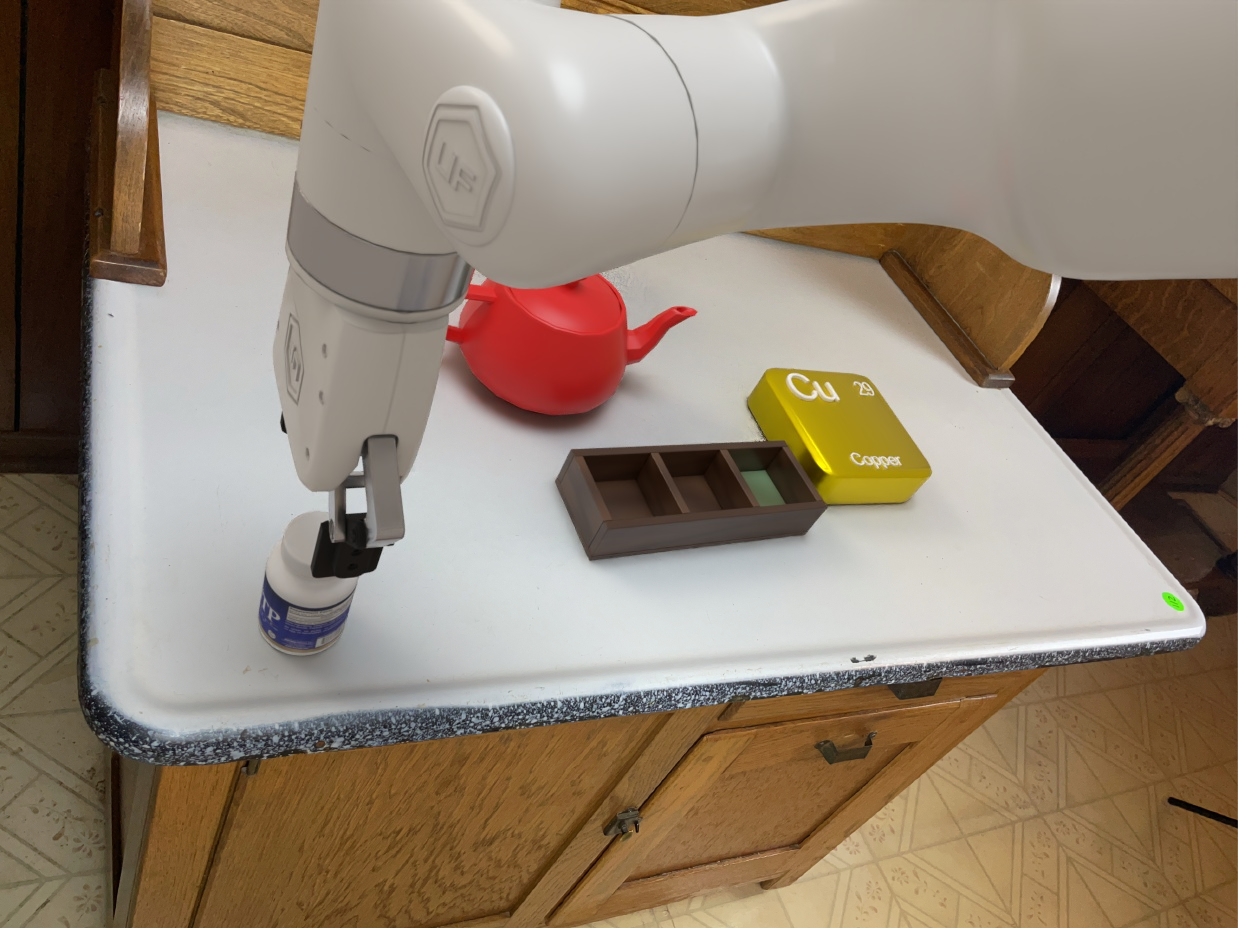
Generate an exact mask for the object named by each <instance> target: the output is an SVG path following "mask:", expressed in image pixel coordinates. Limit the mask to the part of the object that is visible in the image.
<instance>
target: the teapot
mask: <svg viewBox="0 0 1238 928" xmlns="http://www.w3.org/2000/svg"><path fill="white" fill-rule="evenodd" d="M464 300H467V301H466V302H465V304H464V306H463V308H462V310H461V312H460V314H459V321H458V327H457V326H454V325H451V324H448V329H447V334H446V340H445V341H448V342H452V343H455V344H458V347H459V350H460V352H462V356H463V357H464V359H465V361H466V363H467V365H468V367H469V370H470V371H471V373H472V375H474V377H475V378H476V379H477V380H478V381H479V382H480V383H482V384H483V385H484V386H485V387H486V388H487V389H488V390H489V391H490V392H492V393H493V395H495V396H496V397H498V398H500V399H502V400H504V401H506V402H508V403H510V404H512V405H513V406H516V407H518V408H520V409H522V410H526V411H529V412H530V411H531V412H535V413H539V414H544V415H549V416H553V417H555V416H565V415H566V416H567V415H576V414H577V415H579V414H584V413H588V412H589V411H591V410H594V409H595V408H597V407H599V406H601V405H602V404H604V403H606V402H608V400H610V399H611V398H612V397H613V396H614V395H615V394H616V391H617V389H618V388H619V386H620V384H621V381H622V379H623V378H624V375H625V373H626V367H627V366H631V365H634V364H639V363H641V361H643V360H644V359H645V358H646V357H647V356H648V355H649V354H650V353H651V352H652V351H653V350H654V349H655V348H656V347H657V346H658V344H659V343H660V342H661V341H662V340H663V338H664V337H665V335H666V334H667V333H668V331H670V329H672V328H673V327H675V326H677V325H678V324H680V323H682V322H684V321H686V320H687V319H689V318H691V317H695V316H696V315H697V314H698V310H696V309H695V308H693V307H689V306H684V305H677V306H676V305H675V306H672V307H669V308H667V309H666V310H664V311H662V312H659V313H658V314H656V315H655V316H654V317H652V318H651V319H650V320H648V321H647V322H646V323H644V324H642V325H639V326H638V327H636V328H633V329H629V328H628V313H627V306H626V304H625V301H624V299H623V297H622V294H621V293H620V291H619V290H618V289H617V288H616V287H615V285H613V284H612V282H610V280H608V279H606V278H605V277H604V276H603V274H601V273H599V274H595V275H592V276H589V277H586V278H583V279H580V280H577V281H574V282H571V283H568V284H564V285H560V286H555V287H550V288H544V289H518V288H512V287H509V286H505V285H502V284H499V283H497V282H494V281H492V280H490V279H488V278H487V277H486V279H484V281H483V282H482V283H481V284H474V283H473V284H472V283H470V286H469V289H468V292H467V295H466V297H465V299H464Z"/></svg>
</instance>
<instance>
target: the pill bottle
mask: <svg viewBox="0 0 1238 928" xmlns="http://www.w3.org/2000/svg"><path fill="white" fill-rule="evenodd" d="M327 520H329V511H324V510H313V511H307V512H304V513H301V514H299V515H297V516H296V517H294V518H293V519H291V521H290V522H288V524H287V525H286V527H285V528H284V531H283V535H282V538H281V539H280V540H278V541H277V542H276V543H275V545H274V546H273V547H272V549H271V550H270V552H269V553H268V557H267V560H266V562H265V563H266V564H265V569H264V576H263V583H262V589H261V593H260V594H261V597H260V600H259V607H258V613H257V622H258V623H257V624H258V629H259V630H260V633H261V635H262V637H263V639H264V640H265V641H266V642H267V643H268V644H269V645H270V646H271V647H272V648H274V649H276V650H277V651H279V652H282V653H284V654H287V655H292V656H312V655H315V654H318V653H321V652H323V651H325V650H327V649H329V648H330V647H331V646H333V645H334V644H335V643H336V642H337V641H338V640H339V639H340V638H341V636H342V634H343V632H344V630H345V627H346V623H347V621H348V618H349V617H348V616H349V614H350V610H351V607H352V606H351V605H352V602H353V599H354V595H355V592H356V589H357V586H358V582H359V578H360V576H358V577H354V578H346V579H341V578H337V577H336V576H334V577H325V578H314V577H313V576H312V572H311V567H310V566H311V562H312V558H313V553H314V549H315V545H316V541H317V537H318V532H319V528H320V524H321V523H322V522H324V521H327Z"/></svg>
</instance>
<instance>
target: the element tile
mask: <svg viewBox="0 0 1238 928" xmlns="http://www.w3.org/2000/svg"><path fill="white" fill-rule="evenodd" d="M747 405H748V408H749V411H750V412H751V414H752V416H753V418H754V419H755V421H756V422H757V425H758V426H759V428H760V430H761V432H762V433H763V436H764V437H765V439H766V441H779V440H784V441H785V442H786V443H787V445H788V447H789V448H790V449H791V451H792V452H793V454H794V456H795V457H796V459H797V460H798V462H799V463H800V465H801V466H802V468H803V469H804V471H805V472H806V474H807V476H808V477H809V479H810V480H811V482H812V483H813V485H814V486H815V488H816V489H817V491H818V493H819V494H820V496H821V497H822V499H823V501H824V502H825V503H826V505H856V504H857V505H860V504H900V503H905V502H907V501H909V500H910V499H911V498H912V497H913V496H914V495H915V494H916V493H917V492H918V491H919V490H920V488H921V487H922V486H923V485H925V483H926V482H927V481H928V480H929V479H930V478H931V477H932V474H933V473H932V472H933V470H932V467H931V464H930V463H929V461H928V460H927V458H926V457H925V455H924V454H923V452H922V451H921V449H920V448H919V447H918V445H917V444H916V442H915V441H914V440H913V438H912V437H911V435H910V434H909V432H908V431H907V430H906V427H905V426H904V424H902V422H901V421H900V419H899V418H898V416H897V415H896V414H895V412H894V411H893V409H892V408H891V406H890V404H889V403H888V402H887V401H886V399H885V397H884V396H883V395H882V393H881V391H879V389H878V388H877V386H876V385H875V383H874V382H872V380H870V378H869V377H867V376H865V375H862V374H858V373H854V372H853V373H852V372H851V373H850V372H839V371H826V370H811V369H801V368H785V367H770V368H768V369H766V370H765V371H764V373H763V374H762V376H761V378H760V379H759V380H758V382H757V384H755V386H754V388H753V390H752V391H751V393H750V394H749V396H748V397H747Z"/></svg>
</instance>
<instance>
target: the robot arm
mask: <svg viewBox="0 0 1238 928" xmlns="http://www.w3.org/2000/svg"><path fill="white" fill-rule="evenodd" d="M561 4H562V0H319V4H318V11H317V19H316V25H315V32H314V38H313V46H312V51H311V52H312V53H311V60H310V66H309V72H308V78H307V79H308V80H307V87H306V93H305V94H306V95H305V102H304V108H303V116H302V122H301V130H300V137H299V143H298V151H297V157H296V166H295V171H294V179H293V185H292V192H291V200H290V207H289V212H288V213H289V214H288V221H287V228H286V236H285V245H284V249H285V255H286V260H287V261H288V263H289V266H288V271H287V274H286V275H287V276H286V280H285V285H284V289H283V293H282V299H281V304H280V309H279V312H278V313H279V314H278V318H277V324H276V328H275V334H274V339H273V345H272V361H273V362H272V364H273V370H274V377H275V383H276V387H277V392H278V397H279V402H280V406H281V407H280V408H281V415H280V421H279V424H280V429H281V432H283V433H284V434H286V435H287V439H288V443H289V448H290V452H291V457H292V461H293V465H294V469H295V473H296V475H297V477H298V479H299V481H300V482H301V484H302V486H304V487H305V488H306V489H307V490H308V491H310V492H312V493H318V492H319V493H320V492H321V493H322V492H323V493H325V492H326V493H327V492H328V512H329V520H327V521H324V522H322V523H321V524H320V528H319V532H318V537H317V541H316V545H315V549H314V553H313V558H312V562H311V566H310V567H311V572H312V576H313V577H314V578H325V577H334V576H336V577H337V578H341V579H346V578H354V577H358V576H359V577H361V576H363V575H365V574H369V573H372V572H374V571H376V570H377V568H378V565H379V562H380V559H381V556H382V553H383V551H384V547H393V546H395V544H396V543H397V542H399V541H401V540H403V539H404V538H405V535H406V523H405V515H404V514H405V513H404V506H403V497H402V488H401V485H402V484H403V483H404V482H405V481H406V479H407V478H408V476H409V475H410V473H411V471H412V469H413V467H414V464H415V461H416V459H417V456H418V453H419V450H420V447H421V444H422V441H423V438H424V434H425V432H426V428H427V424H428V421H429V417H430V413H431V409H432V405H433V401H434V398H435V393H436V389H437V384H438V379H439V376H440V372H441V371H440V370H441V366H442V360H443V356H444V350H445V346H446V345H445V344H446V341H447V340H446V334H447V329H448V325H449V321H450V314H451V313H452V312H454V311H455V310H456V309H457V308H459V307H460V306H461V305H463V302H464V300H466V299H465V297H466V295H467V292H468V289H469V286H470V284H472V280H473V277H474V274H475V271H476V272H478V273H480V275H482V276H483V277H484V278H486V279H487V278H488V279H490V280H492V281H494V282H497V283H499V284H502V285H505V286H509V287H512V288H518V289H544V288H550V287H555V286H560V285H564V284H568V283H571V282H574V281H577V280H580V279H583V278H586V277H589V276H592V275H595V274H602V273H605V272H608V271H611V270H615V269H618V268H621V267H624V266H628V265H631V264H633V263H636V262H638V261H640V260H644V259H647V258H650V257H653V256H656V255H660V254H663V253H666V252H669V251H672V250H676V249H678V248H681V247H685V246H687V245H691V244H695V243H699V242H703V241H706V240H710V239H713V238H717V237H720V236H721V237H722V236H724V235H730V234H734V233H735V234H736V233H742V232H750V231H760V230H770V229H783V228H798V227H799V228H800V227H815V226H817V227H818V226H832V225H834V226H835V225H852V224H853V225H855V224H922V225H932V226H941V227H947V228H953V229H958V230H962V231H965V232H969V233H972V234H974V235H976V236H978V237H980V238H983V239H985V240H986V241H988V242H989V243H990V244H992V245H994V246H995V247H996V248H998V249H999V250H1000V251H1002V252H1003V253H1004V254H1005V255H1007V256H1008V257H1009V258H1011V259H1012V260H1014V261H1015V262H1017V263H1020V264H1021V265H1022V266H1025V267H1028V268H1030V269H1033V270H1036V271H1040V272H1044V273H1047V274H1050V275H1055V276H1059V277H1061V278H1067V279H1075V280H1082V281H1142V280H1143V281H1145V280H1147V281H1148V280H1197V279H1198V280H1201V279H1203V280H1205V279H1209V280H1210V279H1238V0H784V1H779V2H776V3H775V2H774V3H771V4H766V5H762V6H757V7H753V8H748V9H742V10H737V11H732V12H727V13H720V14H712V15H700V16H699V15H698V16H694V15H676V14H675V15H674V14H632V13H631V14H628V13H603V14H601V13H600V14H597V13H592V12H586V11H579V10H574V9H569V8H563V7H561ZM360 458H361V463H362V470H356V471H355V469H356V468H357V467H358V466H359V463H360V462H359V461H360ZM349 489H364V490H365V491H364V492H365V499H366V512H365V511H364V512H351V513H347V490H349Z"/></svg>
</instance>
